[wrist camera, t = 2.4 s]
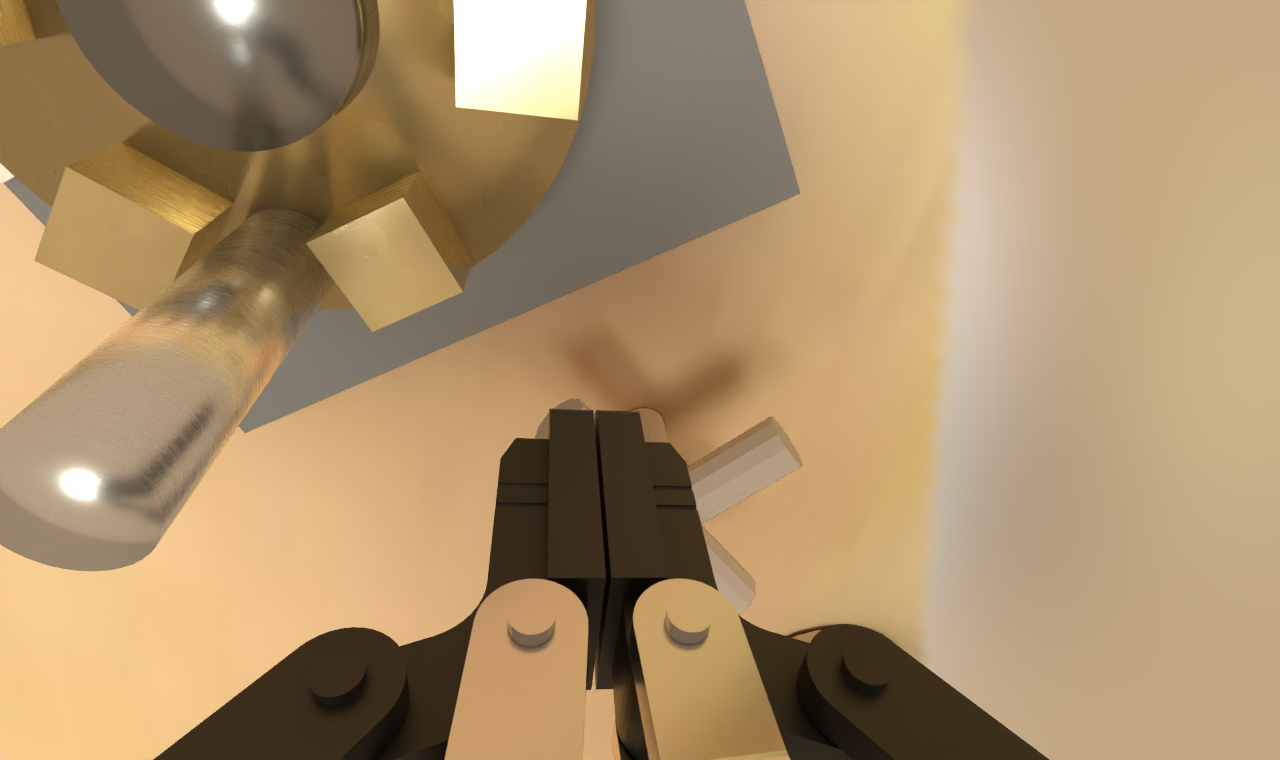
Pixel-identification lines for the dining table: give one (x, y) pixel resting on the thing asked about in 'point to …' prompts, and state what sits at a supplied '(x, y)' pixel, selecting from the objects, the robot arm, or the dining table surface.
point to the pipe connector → (723, 484)
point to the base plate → (585, 191)
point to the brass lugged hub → (251, 211)
